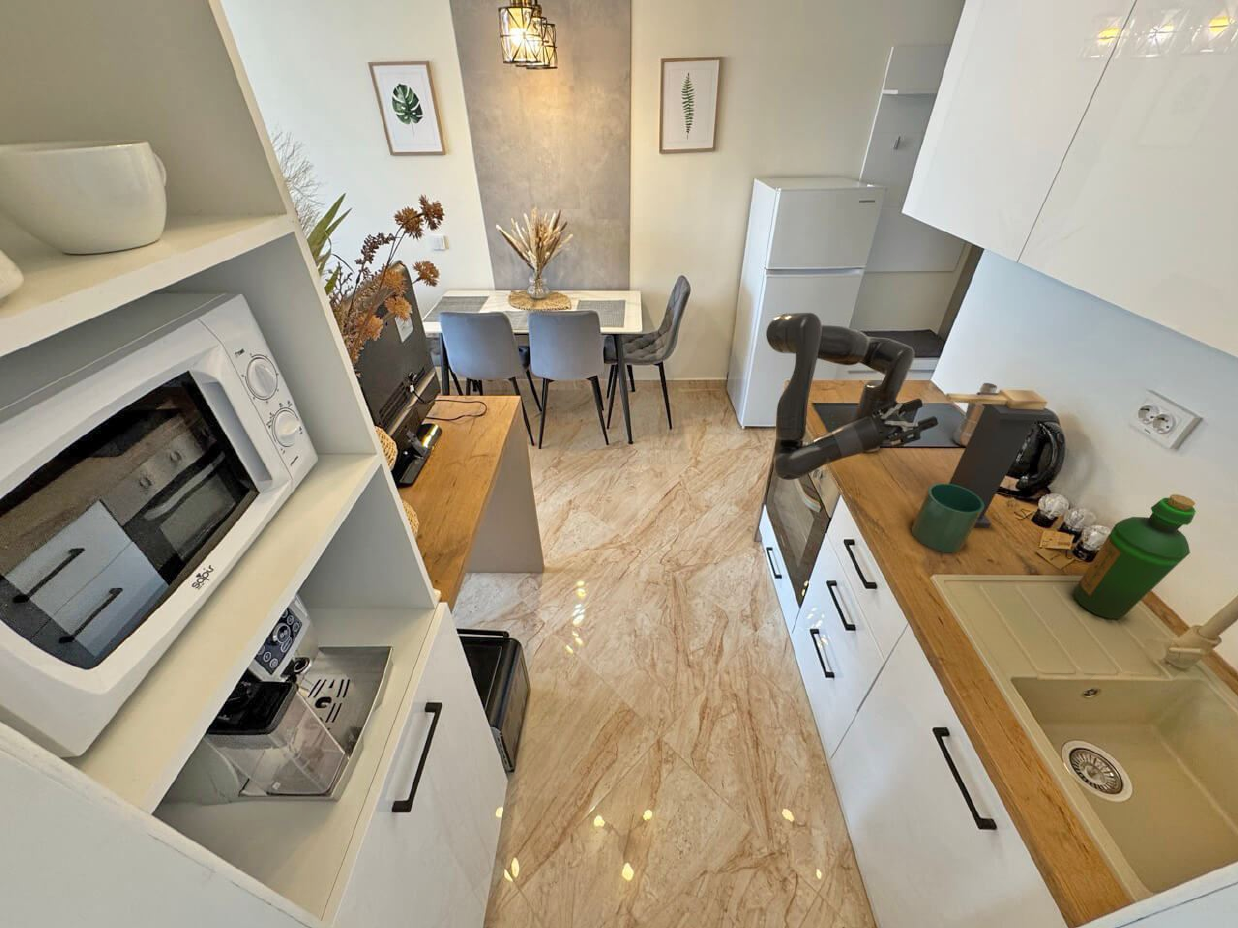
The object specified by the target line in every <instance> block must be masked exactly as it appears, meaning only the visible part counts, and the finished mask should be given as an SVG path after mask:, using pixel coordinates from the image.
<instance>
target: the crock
mask: <svg viewBox="0 0 1238 928" xmlns="http://www.w3.org/2000/svg"><path fill="white" fill-rule="evenodd" d="M983 508H984V503H983V501H982V500H981V498H980V497H979V496H978V495H976V494H975V493H974V492H972V491H970V490H968V489H966V488H963V487H961V486H958V485H953V484H949V482H947V483H945V482H938V483H935V484H932V485H931V486H929V488H928V490H927V492H926V494H925V497H924V498H923V500H922V503H921V505H920V508H919V510H918V512H917V515H916V516H915V518H914V521H913V523H912V526H911V534H912V535H913V536H914V538H915V539H916V540H917V541H918V542H919V543H920V544H922V545H924V546H925V547H926V548H927V547H928V548H930V549H931V550H934V551H937V552H940V553H941V552H942V553H956V552H959V551H961V550H962V549H963V547H964V546H965V544H966V542H967V540H968V539H969V536H970V535H971V533H972V531H973V529H974V528H975V527H974V525H975V523H976V522H977V520H978V518H979V516H980V514H981V512H982V510H983Z"/></svg>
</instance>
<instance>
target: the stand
mask: <svg viewBox="0 0 1238 928" xmlns="http://www.w3.org/2000/svg"><path fill="white" fill-rule="evenodd" d="M976 393H977V395H996V396H997V395H998V393H999V392H995V393H985V392H980V391H977V392H976ZM982 405H983V406H984V407H985V408H984V410H983V412H982V414H981V416H980V418H979V420H978V422H977V425H976V427H975V429H974V431H973V433H972V435H971V437H970V439H969V442H968V444H967V446H965V448H964V451H963V452H962V454H961V456H960V458H959V460H958V463H957V465H956V467H955V469H954V472H953V473H952V476H951V478H950V480H949V482H948V484H953V485H958V486H961V487H963V488H966V489H968V490H970V491H972V492H974V493H975V494H976V495H978V496H979V497H980V498H981V500H982V501H983V503H984V508H983V510H982V512H981V514H980V516H979V518H978V520H977V522H976V523H975V525H974V527H973V528H986V529H989V528H990V526H991V525H992V522H991V521H990V520H989V519H988V517H987V516H986V515H985V514H986V513H987V511H988V509H989V507H990V505H991V503H992V502H993V500H994V498H995V496H996V494H997V493H998V491H999V489H1000V487H1001V485H1002V483H1003V481H1004V480H1005V478H1006V475H1007V474H1008V472H1009V471H1010V468H1011V467H1012V465H1013V463H1014V462H1015V459H1016V457H1017V456H1018V453H1019V452H1020V450H1021V448H1022V446H1023V444H1024V443H1025V441H1026V440H1027V437H1028V435H1029V433H1030V432H1031V429H1032V428H1033V426H1034V424H1035V422H1052V421H1053V419H1054V417H1055V414H1053V413H1052V412H1051V411H1050V410H1048V409H1047V408H1046V407H1045V408H1044V409H1043V410H1034V409H1012V408H1009V407H1008V406H1006V405H998V404H982Z"/></svg>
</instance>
